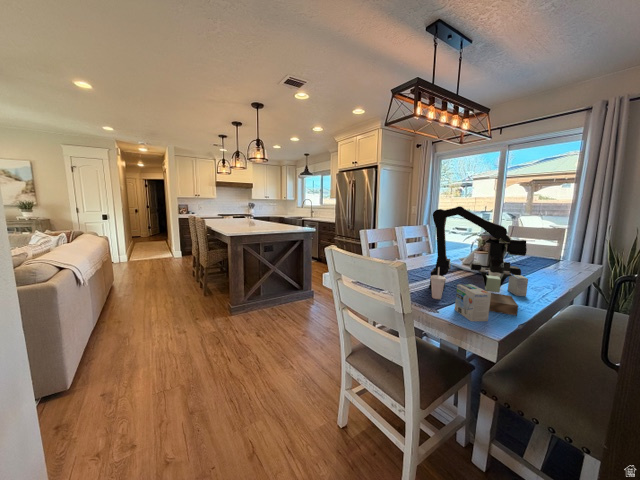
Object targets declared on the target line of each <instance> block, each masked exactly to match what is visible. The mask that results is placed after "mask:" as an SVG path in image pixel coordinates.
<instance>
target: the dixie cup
mask: <svg viewBox="0 0 640 480" xmlns="http://www.w3.org/2000/svg"><path fill="white" fill-rule="evenodd" d="M503 261H504V262H506V261H505V260H503ZM500 275H501V273H492V272H491V271H490V270H488V276H497V277H499V278H500Z"/></svg>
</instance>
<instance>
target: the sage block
mask: <svg viewBox="0 0 640 480" xmlns="http://www.w3.org/2000/svg"><path fill="white" fill-rule="evenodd" d="M500 283H501V279H500V278H499V277H497V276H489V274H488V275H487V274H486V286H485V285H484V288H485V289H484V290H485V291H487V292H491V293H500V290H501V287H500Z"/></svg>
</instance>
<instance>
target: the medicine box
mask: <svg viewBox="0 0 640 480" xmlns="http://www.w3.org/2000/svg"><path fill="white" fill-rule="evenodd" d="M528 283H529V278H527V277H526V276H523V275H522V274H521V275H512V274H511V276H508V285H507V291H509V293H511V294H513V295H514V296H516V297H527V290H528V285H529V284H528Z"/></svg>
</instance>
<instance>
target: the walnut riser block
mask: <svg viewBox="0 0 640 480" xmlns="http://www.w3.org/2000/svg"><path fill="white" fill-rule="evenodd" d="M490 293H491V299H490V307H489V312H493V313H498V314H505V315H511V316H518V312H519V311H518V310H519V305H518V303H517V302H516V300H515V299H514V298H513V296H512V295H509V294H501V293H496V292H490Z"/></svg>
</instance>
